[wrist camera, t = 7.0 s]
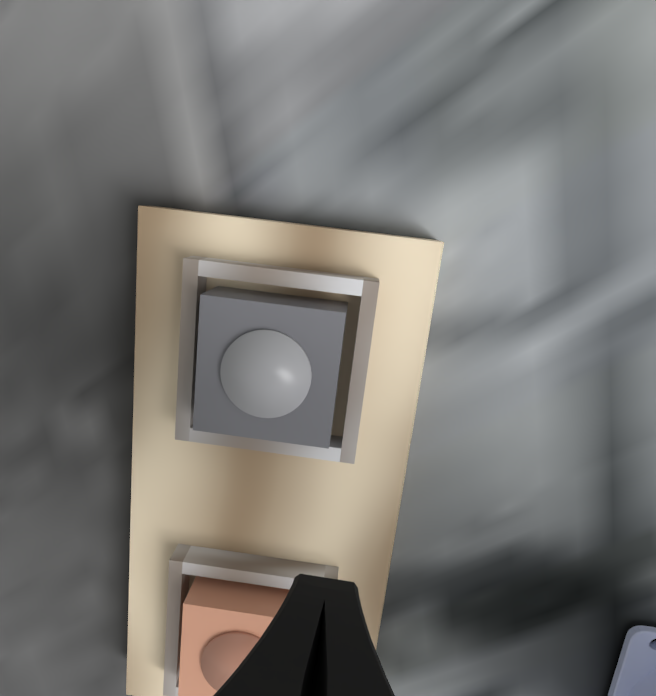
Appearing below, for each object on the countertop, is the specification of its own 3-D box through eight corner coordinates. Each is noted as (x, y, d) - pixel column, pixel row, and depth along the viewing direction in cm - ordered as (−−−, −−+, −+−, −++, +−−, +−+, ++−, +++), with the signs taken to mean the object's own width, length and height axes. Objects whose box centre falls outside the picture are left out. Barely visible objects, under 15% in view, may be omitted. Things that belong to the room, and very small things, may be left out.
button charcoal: (348, 302, 18) (345, 313, 16) (332, 424, 19) (328, 450, 17) (218, 286, 18) (198, 295, 16) (210, 408, 19) (191, 432, 17)
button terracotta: (312, 583, 20) (306, 625, 18) (301, 676, 22) (294, 725, 19) (200, 567, 21) (181, 606, 19) (194, 659, 22) (176, 706, 20)
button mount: (437, 240, 18) (448, 243, 16) (362, 699, 23) (362, 754, 21) (155, 206, 19) (124, 205, 16) (140, 665, 24) (115, 716, 21)
